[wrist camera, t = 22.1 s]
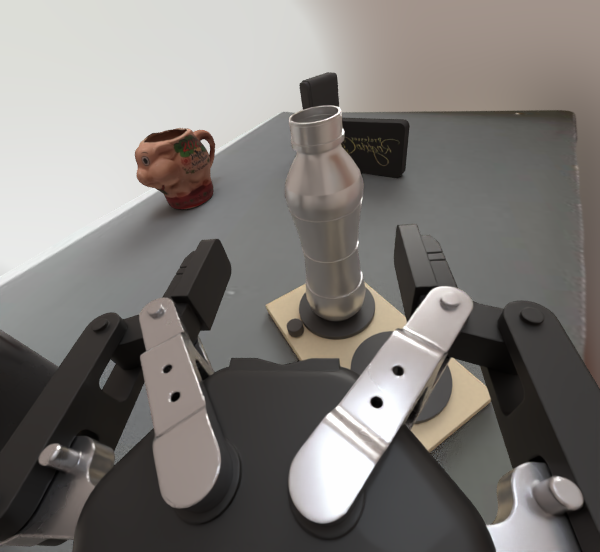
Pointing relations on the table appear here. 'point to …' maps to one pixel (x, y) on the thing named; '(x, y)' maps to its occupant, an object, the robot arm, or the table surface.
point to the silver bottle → (326, 212)
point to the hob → (365, 345)
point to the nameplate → (377, 144)
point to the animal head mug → (177, 166)
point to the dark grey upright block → (320, 91)
